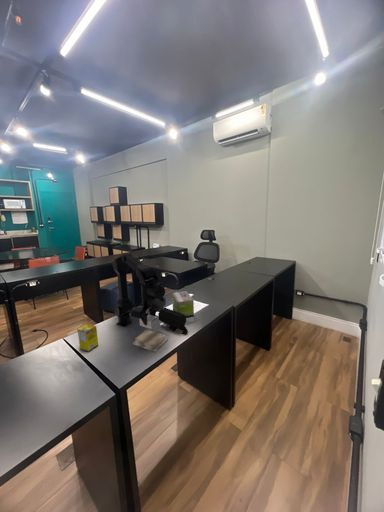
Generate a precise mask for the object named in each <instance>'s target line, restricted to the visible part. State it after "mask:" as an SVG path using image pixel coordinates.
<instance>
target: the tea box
mask: <svg viewBox="0 0 384 512" xmlns="http://www.w3.org/2000/svg"><path fill="white" fill-rule="evenodd" d="M171 294H172V295H171V296H172V297H171V298H172V299H171V301H172V310H173V311H176V312H179V313H182V314H184V315H185V316H186V323H185V325H186V324H192V323H195V315H194V314H195V311H194V310H195V309H194V307H195V306H194V305H195V303H194V298H193V297H192V296H191V295H190V293H189V292H188V291H187V290H184V291H177V292H172V293H171Z"/></svg>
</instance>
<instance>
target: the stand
mask: <svg viewBox="0 0 384 512" xmlns="http://www.w3.org/2000/svg"><path fill="white" fill-rule="evenodd" d="M168 341H169V338H168V337H166V335H165V334H162V333H159V332H156V331H154V330H153V331H152V330H151V329H145V330H144V331H143V332H142V333H140V334H139V335H137V336H136V337H135V338H134V341H133V342H132V343H131V344H132V345H133V346H137V347H139V348H142V349H145V350H147V351H150V352H153V353H157V351H158V350H159V349H160V348H162V346H164V345H165V344H166V343H167V342H168Z"/></svg>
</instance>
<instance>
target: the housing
mask: <svg viewBox="0 0 384 512" xmlns="http://www.w3.org/2000/svg"><path fill="white" fill-rule="evenodd" d="M159 325H160V320H159V317H158V316H156V315H155V316H152V315H150V314H149V315H148V316H147V326H146V325H144V323H143V322H142V320H141V318H140V319H139V326H140V327H143V328H146V329H149V330H154V329H156V328H157V327H158V326H159Z"/></svg>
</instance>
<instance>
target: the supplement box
mask: <svg viewBox="0 0 384 512" xmlns="http://www.w3.org/2000/svg"><path fill="white" fill-rule="evenodd" d="M77 337H78V344H79V350H81V351H83V352H87V353H90V352H91V351H93V350H94V349H96V348H97V347H99V338H98V329H97V325H94V324H92V323H86V324H84V325H83V326H80V327H79V328H77Z"/></svg>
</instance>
